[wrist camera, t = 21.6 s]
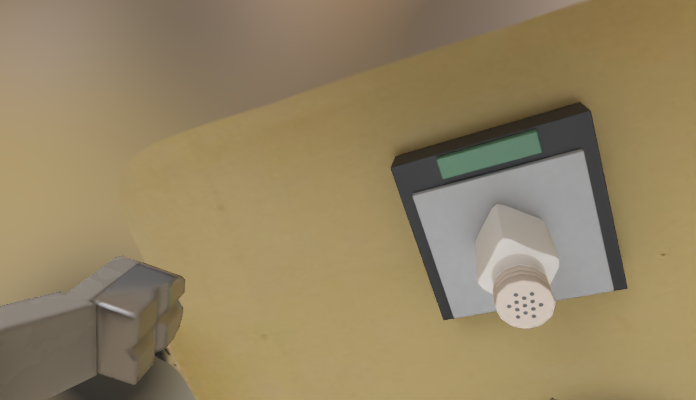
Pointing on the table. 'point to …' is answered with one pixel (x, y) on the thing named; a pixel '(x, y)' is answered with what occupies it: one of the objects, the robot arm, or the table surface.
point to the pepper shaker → (517, 266)
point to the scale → (512, 204)
